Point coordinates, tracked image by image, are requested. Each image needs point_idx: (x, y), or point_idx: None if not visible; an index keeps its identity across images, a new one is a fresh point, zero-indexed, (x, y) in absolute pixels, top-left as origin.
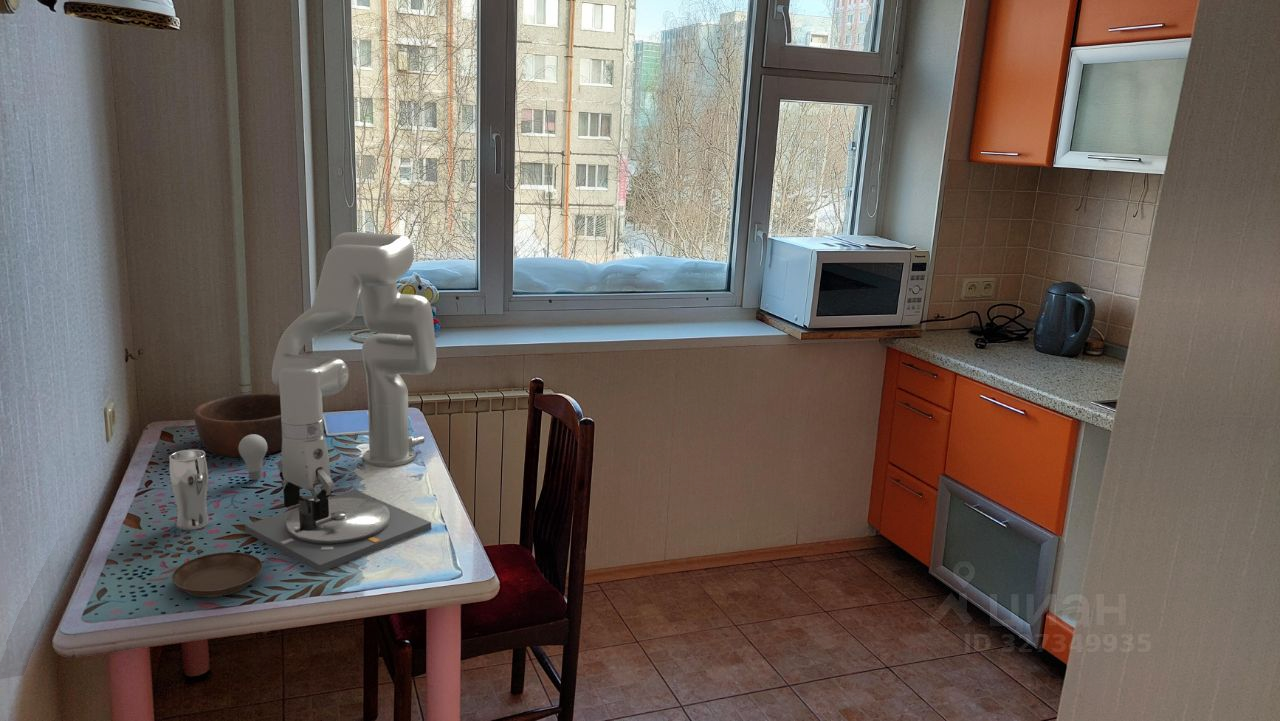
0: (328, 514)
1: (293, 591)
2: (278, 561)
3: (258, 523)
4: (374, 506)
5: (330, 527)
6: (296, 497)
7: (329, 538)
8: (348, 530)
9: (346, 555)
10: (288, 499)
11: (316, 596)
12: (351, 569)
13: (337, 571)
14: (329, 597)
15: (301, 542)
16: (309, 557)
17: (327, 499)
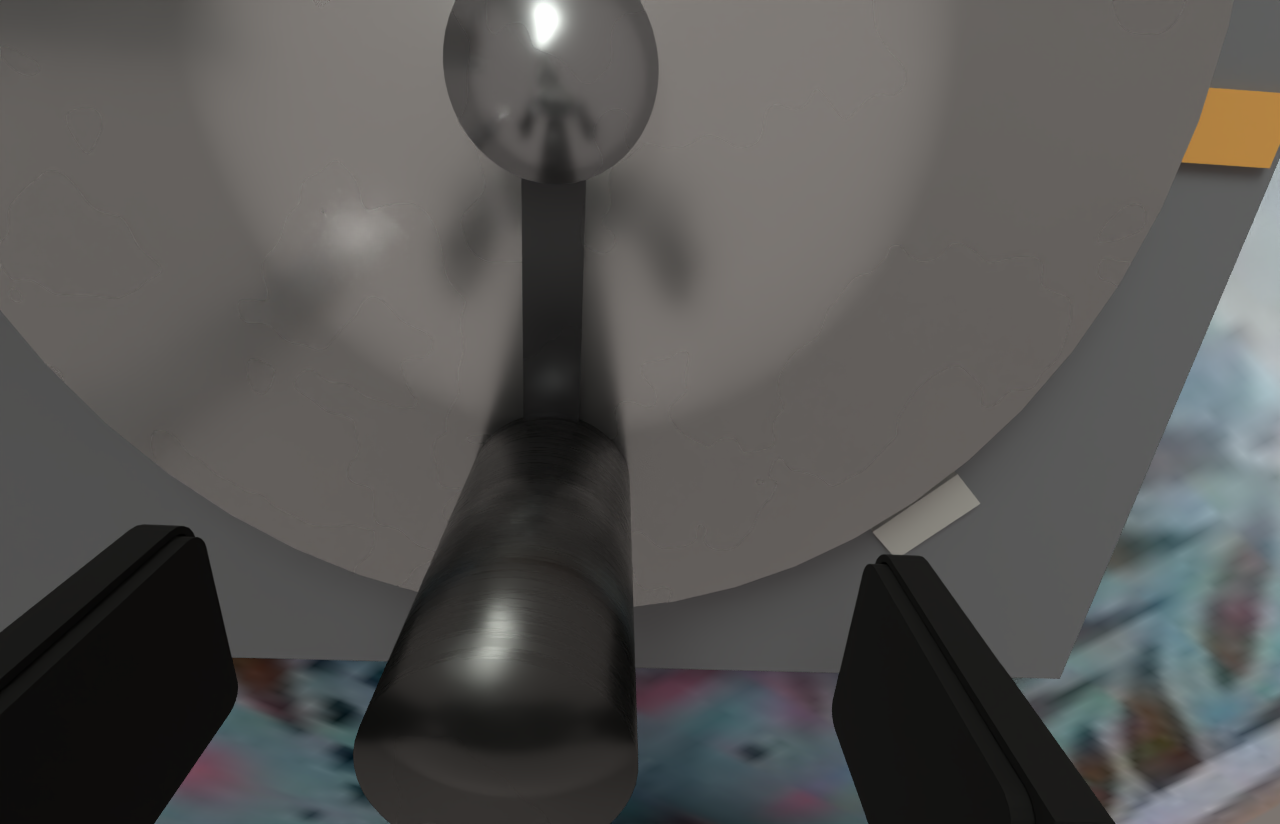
0: (927, 571)
1: None
2: (675, 696)
3: (32, 576)
4: None
5: (735, 348)
6: (133, 654)
7: (913, 495)
8: (964, 272)
9: (1138, 485)
10: (163, 771)
11: (1191, 776)
12: (1195, 499)
13: (1119, 568)
14: (1267, 748)
15: None
16: None
17: (1079, 798)
